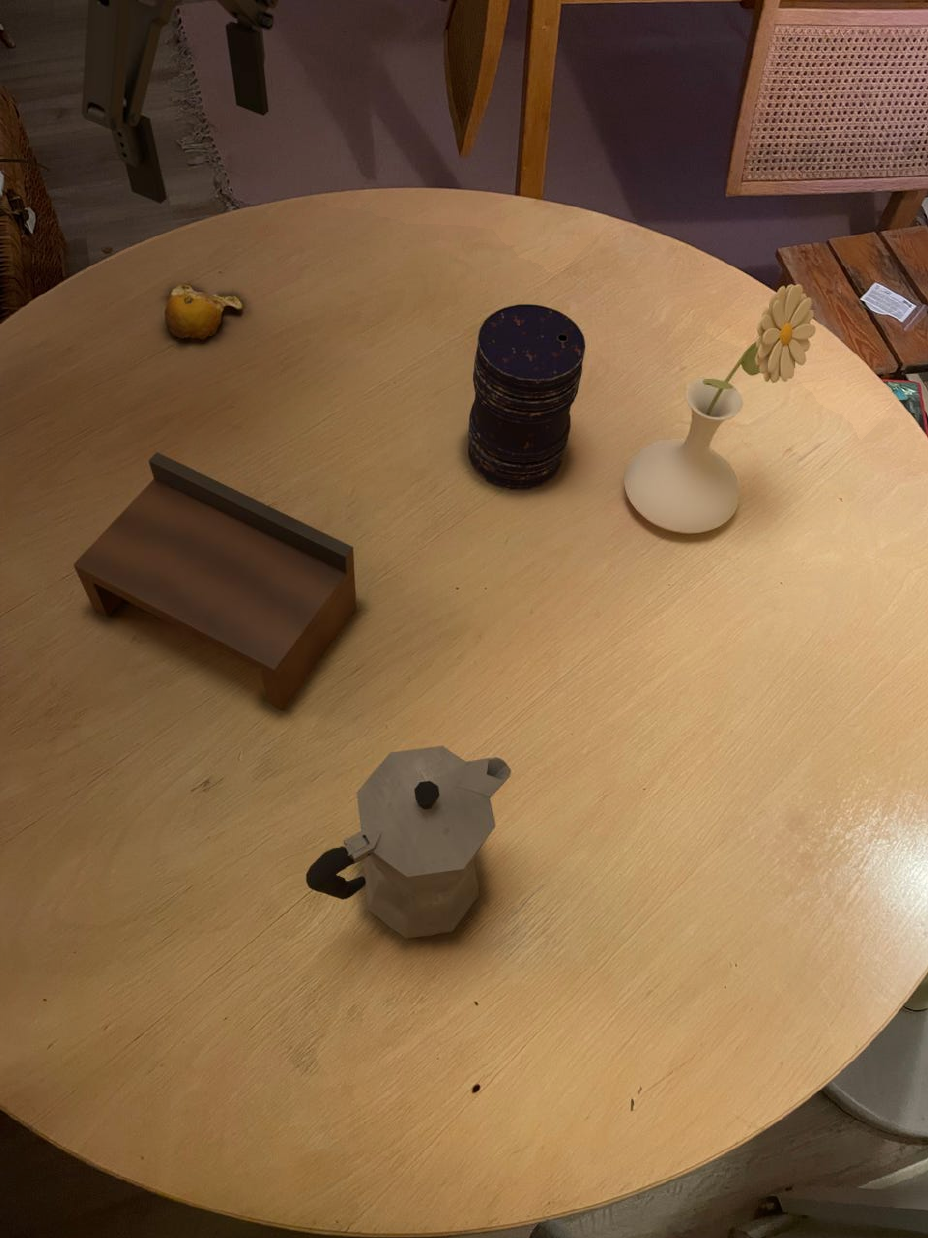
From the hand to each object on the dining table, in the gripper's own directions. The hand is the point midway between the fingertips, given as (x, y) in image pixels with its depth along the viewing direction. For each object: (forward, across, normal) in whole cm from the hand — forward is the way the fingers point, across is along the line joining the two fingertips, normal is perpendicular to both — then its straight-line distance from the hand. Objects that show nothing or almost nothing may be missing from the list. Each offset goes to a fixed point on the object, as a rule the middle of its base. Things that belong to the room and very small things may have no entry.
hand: (203, 150), depth 82 cm
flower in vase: (+29, +12, -44) cm, 54 cm away
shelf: (+28, -22, -13) cm, 38 cm away
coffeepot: (+29, -36, -40) cm, 61 cm away
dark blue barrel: (+29, +8, -27) cm, 40 cm away
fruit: (+28, +8, +11) cm, 32 cm away
